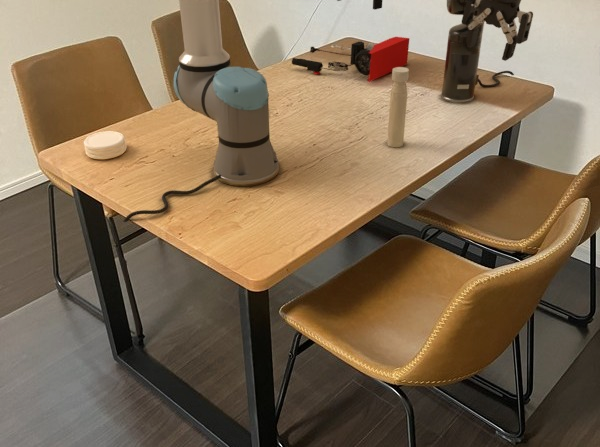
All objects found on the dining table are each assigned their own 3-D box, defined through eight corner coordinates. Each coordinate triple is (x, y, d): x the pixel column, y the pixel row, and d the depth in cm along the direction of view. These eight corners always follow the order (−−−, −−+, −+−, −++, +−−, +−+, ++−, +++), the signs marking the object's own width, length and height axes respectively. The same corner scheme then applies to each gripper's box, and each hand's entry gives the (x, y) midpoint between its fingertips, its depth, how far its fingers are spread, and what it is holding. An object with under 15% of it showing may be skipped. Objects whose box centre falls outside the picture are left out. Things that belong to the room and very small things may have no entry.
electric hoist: (290, 38, 202) (370, 53, 187) (334, 24, 221) (410, 36, 206) (290, 69, 207) (368, 86, 192) (333, 52, 226) (407, 67, 211)
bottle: (397, 148, 155) (402, 75, 145) (383, 144, 157) (388, 71, 147) (406, 143, 157) (412, 70, 147) (393, 139, 160) (398, 67, 150)
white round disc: (96, 164, 150) (94, 150, 148) (79, 150, 156) (76, 138, 154) (134, 151, 155) (131, 138, 153) (115, 139, 162) (113, 127, 160)
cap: (402, 83, 146) (402, 73, 145) (388, 79, 148) (389, 69, 147) (411, 78, 148) (412, 69, 147) (397, 75, 151) (398, 65, 149)
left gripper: (410, -82, 149) (403, 9, 160) (338, -89, 165) (337, -6, 176) (388, -79, 145) (383, 15, 156) (317, -87, 161) (317, -2, 172)
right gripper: (550, -20, 120) (526, 59, 130) (486, -38, 128) (468, 38, 138) (531, -13, 116) (508, 69, 126) (466, -32, 123) (449, 46, 133)
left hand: (358, 4), depth 166 cm, fingers open, 13 cm apart
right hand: (487, 52), depth 132 cm, fingers open, 8 cm apart
